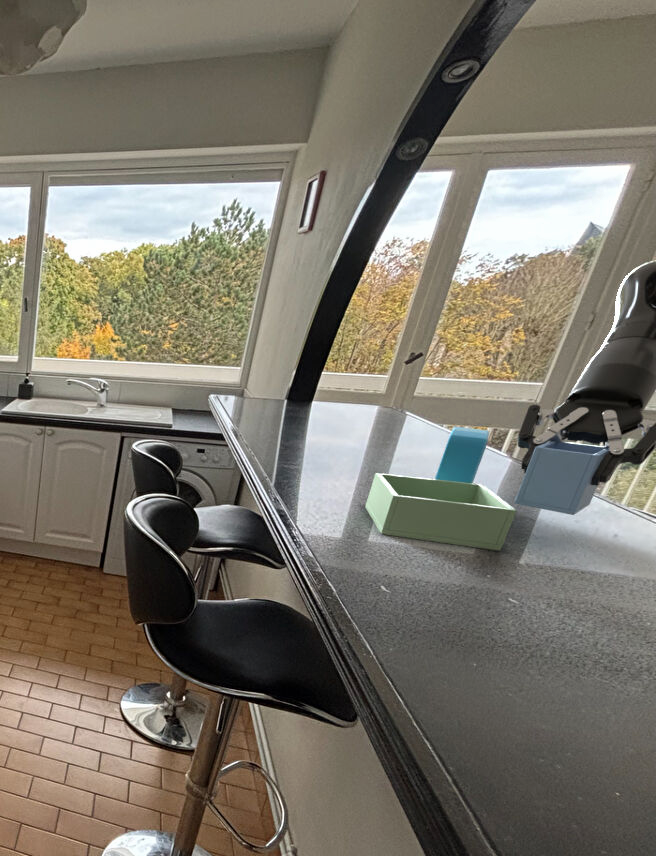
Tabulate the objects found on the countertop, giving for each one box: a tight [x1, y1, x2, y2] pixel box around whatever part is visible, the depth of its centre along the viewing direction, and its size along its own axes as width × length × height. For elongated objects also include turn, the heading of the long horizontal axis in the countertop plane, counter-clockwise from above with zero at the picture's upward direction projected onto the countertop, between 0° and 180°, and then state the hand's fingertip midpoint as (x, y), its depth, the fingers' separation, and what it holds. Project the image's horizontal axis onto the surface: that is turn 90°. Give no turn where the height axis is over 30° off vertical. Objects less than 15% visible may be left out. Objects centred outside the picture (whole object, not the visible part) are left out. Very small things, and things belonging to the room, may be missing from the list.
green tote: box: [365, 472, 517, 552], centre depth 86 cm, size 13×13×6 cm
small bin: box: [513, 441, 609, 516], centre depth 80 cm, size 6×8×8 cm
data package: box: [434, 426, 490, 483], centre depth 95 cm, size 12×4×12 cm, turn 138°
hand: (560, 475), depth 79 cm, fingers closed on small bin, 6 cm apart
